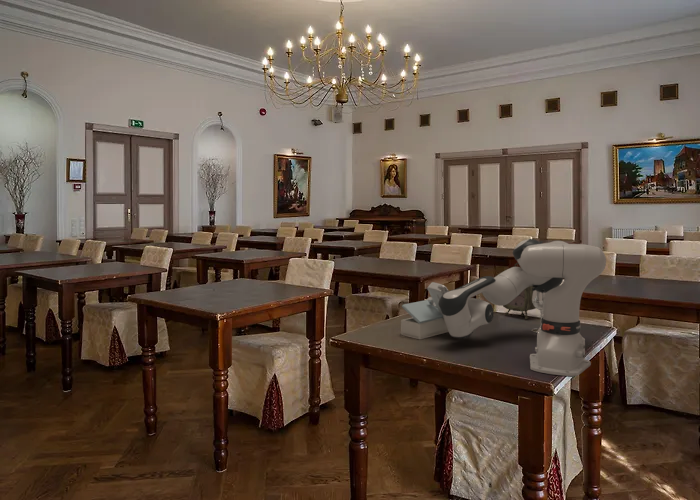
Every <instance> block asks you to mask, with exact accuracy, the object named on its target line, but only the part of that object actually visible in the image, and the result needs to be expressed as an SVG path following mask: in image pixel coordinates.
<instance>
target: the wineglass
mask: <svg viewBox="0 0 700 500" xmlns="http://www.w3.org/2000/svg"><path fill="white" fill-rule="evenodd" d="M545 294H546V293H542V292H538V291H536V290H535V291H533V294H532V303H533V305H534V307H535V308H536V310H538V311H539V312H540V320H541V319H542V317H543V298H544V295H545ZM540 331H541V324H540V326H539V328H537V327H536V328H532V329H531V332H533V333H536V334H537V333H539V332H540Z"/></svg>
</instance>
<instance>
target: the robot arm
mask: <svg viewBox="0 0 700 500" xmlns="http://www.w3.org/2000/svg"><path fill="white" fill-rule="evenodd" d="M512 255H513V257H514V259H515V261H517V263H519V264H518V265H519V266H515V267H514V266H512V267H510V268H508V269H505V270H504V271H502V272H500V273H499V274H497V275H495V276H494V277H493V276H491V275H489V276H488V275H486V276H481V277H479V278H477V279H474V280H472V281H471V282H468V283H465V284H463V285H462V286H459V287H457V288H454V289H450V290H449V289H448V287H447V286H445V285H444V284H441V283H439V282H435V281H434V282H433V281H432V282H431V283H430V284H428V286H427V291H428V293H429V297H428V298H427V299H426V300H428V302H429V304H430V305H433V306H434V307H436V308H438V310H439V312H440V313H441V314H442V315H443V317H444V320H445V323H446V325H447V329H448V331H449V332H448V333H449V335H450V336H451V337H453V338H454V339H467V338H469V337H470V336H471V335H472V334H473V333H474V332H475V330H476V329H478V328H479V327H480V326H485V325H489V324H490V323H491V322H492V321H493V319H494V309H493V308H494V307H493V305H495V306H501V307H502V306H503V305H506V304H508V303H510V302H511V301H512V300H514V299H515V298H516V297H517V296H518V295H519V294H520V293H521V292H522V291H523V290H524V289H526V288H527V287H529V286H533V288H532V291H535V290H536V291H538V292H542V293H546V294H545V295H544V298H543V317H542V319H541V318H540V325H541V331H540V332H539V333H536V346H535V347H534V349H533V350H534V351H535V352H536V353H530V354H529V366H530V370H531V371H534V372H537V373H543V374H548V375H554V376H555V375H557V376H564V377H565V376H566V377H578V376H579V375H580V374H582V373H583V372H584V371H586V370H587V369H588V368H589V367H591V365H592V363H591V361H590V360H588V359H586V339H585V337H583V335H581V333H580V332H581V328H582V327H581V326H582V324H581V320H580V307H581V300H582V295H583V292H584V291H585V289H586V288H587V287H588V285H589V284H590V283H591V282H593V280H595V279H596V278H598V277H599V276H601V274H602V273H603V272H604V271H605V268H606V266H607V258H606V255H605V252H604V251H603V250H602V248H601V247H599V246H596V245H590V244H585V243H568V242H566V241H562V240H553V241H551V242H544V241H542V240H540V241H539V240H537V239H534V238H529V239H524V240H522V241H520V242H518V243H517V244H516V245H515V247H514V249H512ZM479 294H482V295H483V297H484V298H485V300H483V299H480V298H474V297H475V296H478V295H479ZM492 304H493V305H492Z"/></svg>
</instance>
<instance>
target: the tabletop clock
mask: <svg viewBox="0 0 700 500" xmlns="http://www.w3.org/2000/svg"><path fill="white" fill-rule="evenodd" d="M517 265H519V263H518V262H516V263H514V266H513V267H517ZM532 288H533V286H529V287H527V288H526V289H524V290H523V291H522V292H521V293H520V294H519V295H518V296H517V297H516V298H515V299H514V300H512V301H511V302H510V303H508V304H506V305H503V308H504V309H507V311H506V312H504V315H505V316H509V313H510V312H511V311H513V312H521V314H520V316H522V317H524V319H525V320H529V316H528V311H532V310H535V309H536V310H537V308H535V307H534V305H533V303H532V294H533V291H532Z"/></svg>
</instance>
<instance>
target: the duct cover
mask: <svg viewBox="0 0 700 500" xmlns="http://www.w3.org/2000/svg"><path fill="white" fill-rule="evenodd" d="M401 308H402V309H403V310H404V311H405V312H406V313H407V314H408V315H409V316H410V317H411V318H412V317H413V318H414V319H415V320H416V321H417V322H418V323H424V322H428V321H432V320H436V319H440V318H444V317H443V315H442V314H441V313H440V312H439V310H438V308H436V307H434V306H433V305H430V304H429V302H428V300H427V299H424V300H420V301H416V302H410V303H405V304H401Z"/></svg>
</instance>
